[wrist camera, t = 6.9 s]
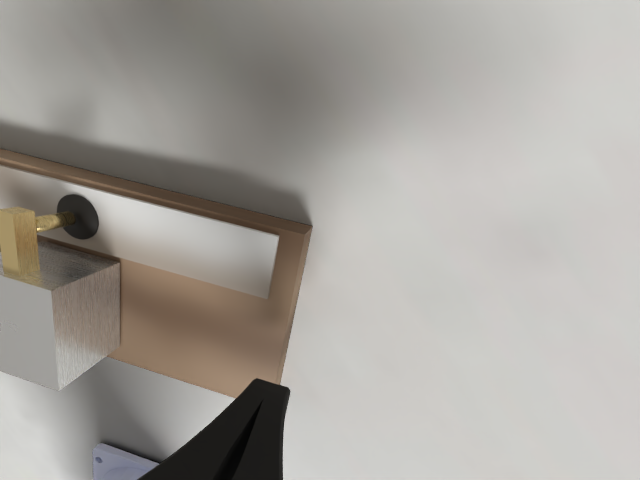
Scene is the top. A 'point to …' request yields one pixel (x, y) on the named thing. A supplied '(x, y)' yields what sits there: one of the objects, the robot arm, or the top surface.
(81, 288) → the block
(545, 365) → the top surface
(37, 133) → the top surface
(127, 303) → the gauge board
